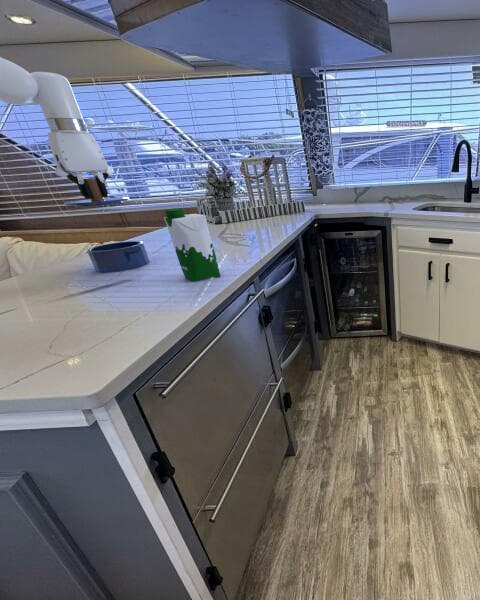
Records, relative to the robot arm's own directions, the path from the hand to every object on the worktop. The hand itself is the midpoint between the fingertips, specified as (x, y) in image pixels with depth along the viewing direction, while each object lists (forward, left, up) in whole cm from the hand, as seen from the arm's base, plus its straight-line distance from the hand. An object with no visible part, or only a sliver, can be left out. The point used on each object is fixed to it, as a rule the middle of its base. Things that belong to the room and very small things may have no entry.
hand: (96, 197), depth 95 cm
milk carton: (+5, -32, -23) cm, 40 cm away
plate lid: (0, 0, -1) cm, 1 cm away
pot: (0, 0, -23) cm, 23 cm away
